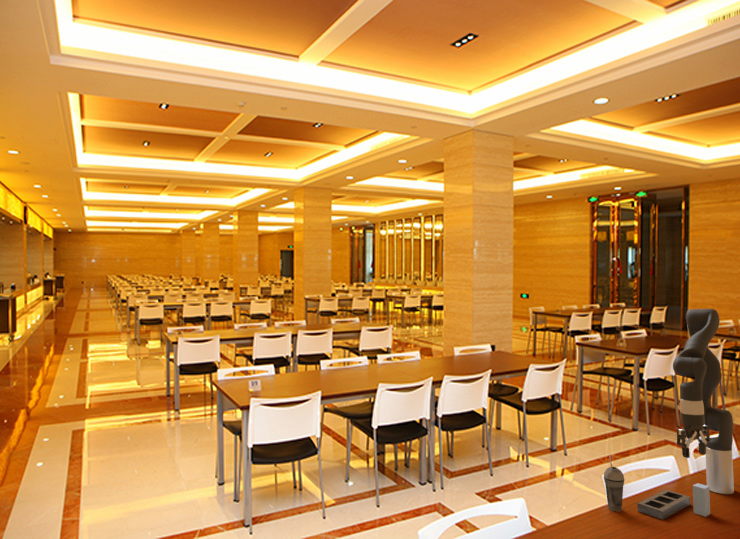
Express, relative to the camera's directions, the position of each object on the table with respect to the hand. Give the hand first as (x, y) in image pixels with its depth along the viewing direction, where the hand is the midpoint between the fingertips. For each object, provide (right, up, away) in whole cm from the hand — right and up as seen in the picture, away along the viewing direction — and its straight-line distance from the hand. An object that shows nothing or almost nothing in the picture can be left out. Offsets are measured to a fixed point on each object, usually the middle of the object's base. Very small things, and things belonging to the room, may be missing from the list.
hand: (694, 455), depth 187 cm
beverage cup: (-27, -22, +4) cm, 35 cm away
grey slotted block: (-8, -22, +5) cm, 24 cm away
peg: (+3, -21, 0) cm, 22 cm away
